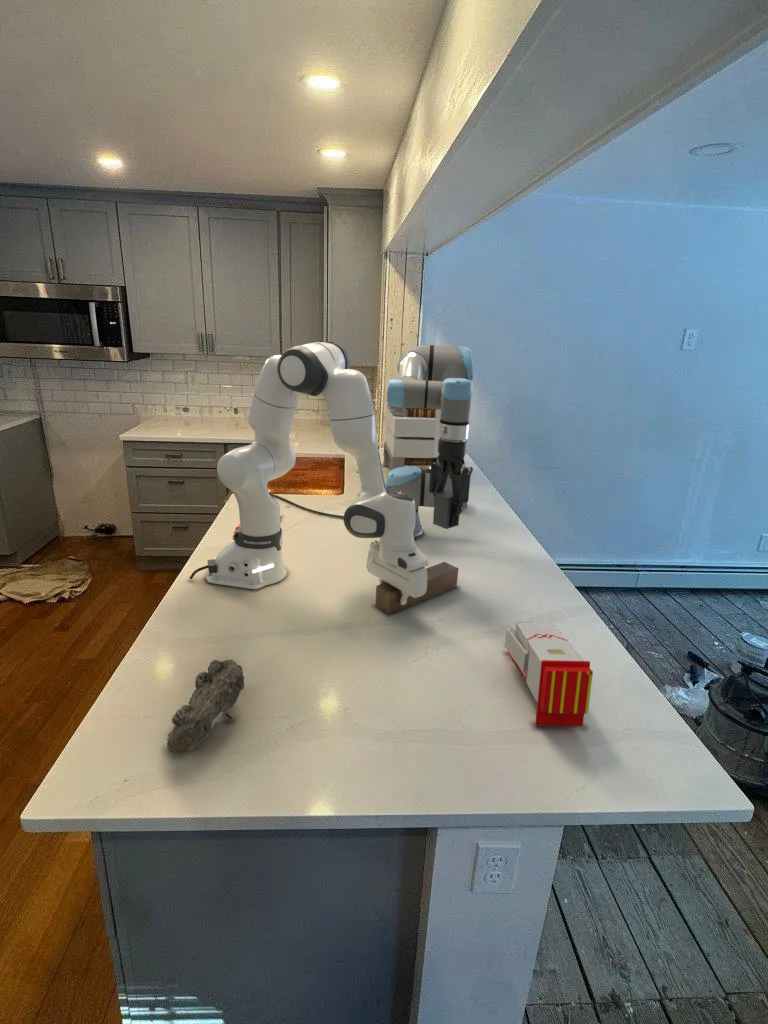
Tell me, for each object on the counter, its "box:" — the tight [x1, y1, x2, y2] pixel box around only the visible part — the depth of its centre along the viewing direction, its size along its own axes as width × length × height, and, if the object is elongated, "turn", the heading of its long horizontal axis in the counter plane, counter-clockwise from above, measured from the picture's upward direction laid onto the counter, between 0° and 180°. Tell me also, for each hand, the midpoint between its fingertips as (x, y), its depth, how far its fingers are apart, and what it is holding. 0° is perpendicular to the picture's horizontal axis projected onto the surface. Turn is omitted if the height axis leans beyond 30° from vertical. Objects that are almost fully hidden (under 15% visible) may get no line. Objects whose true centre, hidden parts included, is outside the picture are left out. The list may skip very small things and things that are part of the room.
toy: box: [503, 622, 594, 727], centre depth 121 cm, size 12×13×30 cm
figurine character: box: [461, 502, 468, 512], centre depth 228 cm, size 7×8×15 cm
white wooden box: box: [383, 404, 436, 472], centre depth 268 cm, size 34×33×41 cm
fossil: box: [166, 658, 245, 754], centre depth 106 cm, size 22×10×15 cm
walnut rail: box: [374, 561, 459, 615], centre depth 156 cm, size 6×26×6 cm, turn 131°
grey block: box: [432, 490, 460, 530], centre depth 155 cm, size 5×5×9 cm
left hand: (393, 598), depth 151 cm, fingers closed on walnut rail, 5 cm apart
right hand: (445, 522), depth 156 cm, fingers closed on grey block, 5 cm apart
